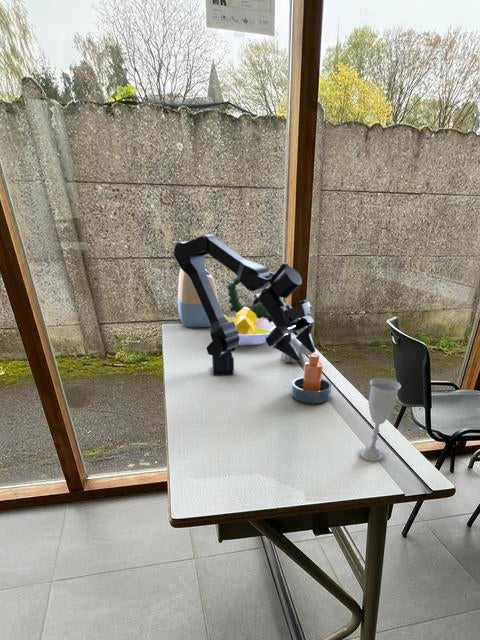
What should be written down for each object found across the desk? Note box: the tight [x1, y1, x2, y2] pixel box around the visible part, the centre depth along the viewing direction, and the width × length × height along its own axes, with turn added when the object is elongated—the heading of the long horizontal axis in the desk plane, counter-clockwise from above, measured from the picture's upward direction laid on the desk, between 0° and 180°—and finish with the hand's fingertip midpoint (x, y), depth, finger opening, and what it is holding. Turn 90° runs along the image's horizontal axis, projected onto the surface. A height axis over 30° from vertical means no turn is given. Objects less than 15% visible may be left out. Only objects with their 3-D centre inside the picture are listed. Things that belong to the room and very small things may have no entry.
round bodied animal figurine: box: [280, 335, 313, 364], centre depth 156 cm, size 7×12×8 cm, turn 98°
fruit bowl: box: [224, 307, 276, 347], centre depth 172 cm, size 28×27×11 cm
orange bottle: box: [303, 353, 323, 391], centre depth 129 cm, size 5×5×12 cm
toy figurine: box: [227, 277, 286, 320], centre depth 194 cm, size 9×19×25 cm
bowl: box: [291, 376, 332, 405], centre depth 132 cm, size 12×12×4 cm
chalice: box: [360, 377, 402, 462], centre depth 100 cm, size 7×7×18 cm
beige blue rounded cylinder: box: [177, 267, 220, 328], centre depth 184 cm, size 17×17×23 cm
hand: (306, 356), depth 127 cm, fingers open, 9 cm apart
